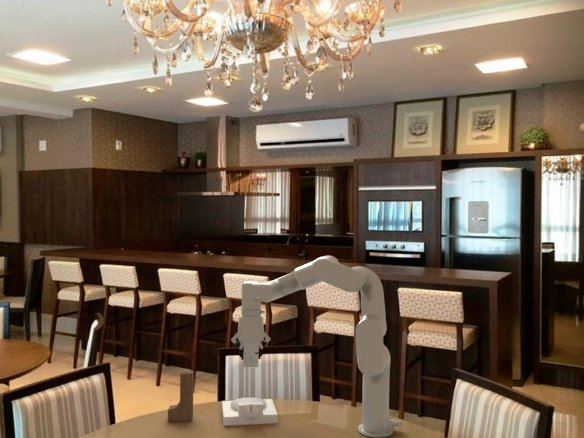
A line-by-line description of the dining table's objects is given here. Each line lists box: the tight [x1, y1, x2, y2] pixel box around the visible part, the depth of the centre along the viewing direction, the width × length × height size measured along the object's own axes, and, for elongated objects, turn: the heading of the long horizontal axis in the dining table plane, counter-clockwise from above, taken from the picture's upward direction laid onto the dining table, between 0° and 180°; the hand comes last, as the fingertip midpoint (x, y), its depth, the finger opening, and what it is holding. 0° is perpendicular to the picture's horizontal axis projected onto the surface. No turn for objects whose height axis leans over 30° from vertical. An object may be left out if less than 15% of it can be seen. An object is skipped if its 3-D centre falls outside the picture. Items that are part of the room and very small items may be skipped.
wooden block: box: [167, 370, 195, 422], centre depth 206 cm, size 9×4×18 cm, turn 93°
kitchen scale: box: [221, 397, 279, 427], centre depth 210 cm, size 20×18×8 cm
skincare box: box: [242, 341, 259, 368], centre depth 212 cm, size 6×4×12 cm
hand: (250, 358), depth 212 cm, fingers closed on skincare box, 6 cm apart
